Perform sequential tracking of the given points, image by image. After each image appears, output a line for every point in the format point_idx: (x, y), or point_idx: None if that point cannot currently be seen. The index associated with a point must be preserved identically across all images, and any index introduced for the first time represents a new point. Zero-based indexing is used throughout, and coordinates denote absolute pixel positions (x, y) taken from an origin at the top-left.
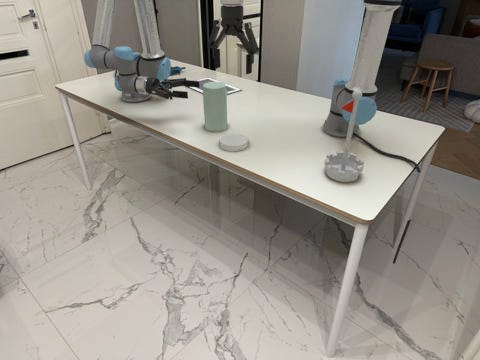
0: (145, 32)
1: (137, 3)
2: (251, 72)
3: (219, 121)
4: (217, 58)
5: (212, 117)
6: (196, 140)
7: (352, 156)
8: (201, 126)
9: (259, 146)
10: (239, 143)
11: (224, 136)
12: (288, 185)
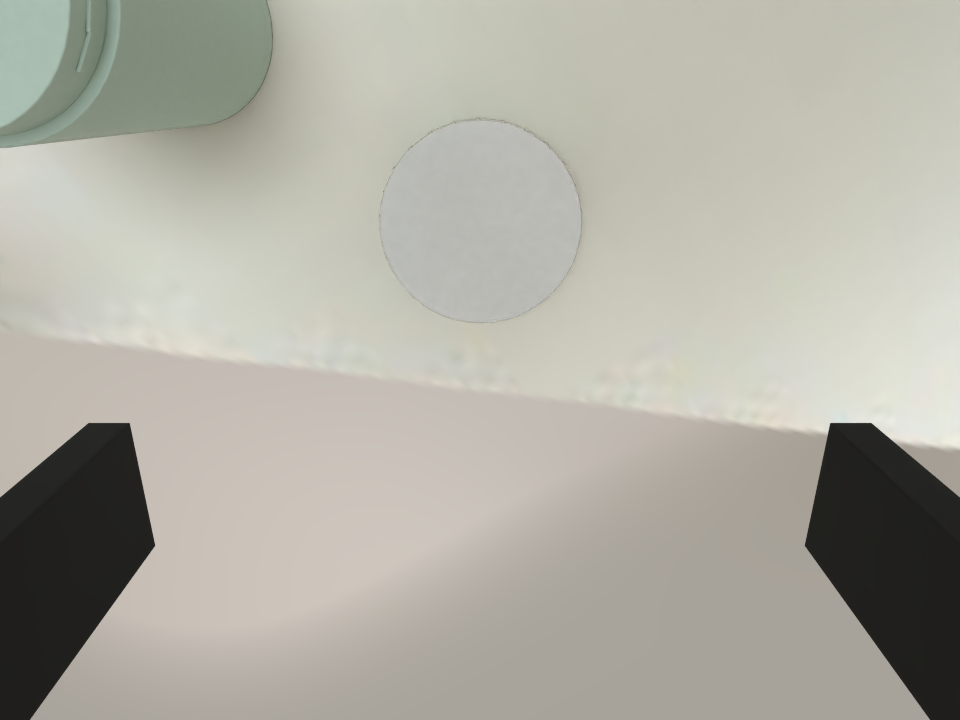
0: None
1: None
2: (870, 433)
3: (233, 85)
4: (35, 636)
5: (175, 125)
6: (235, 302)
7: None
8: None
9: (647, 145)
10: (549, 260)
11: (397, 223)
12: (949, 442)
